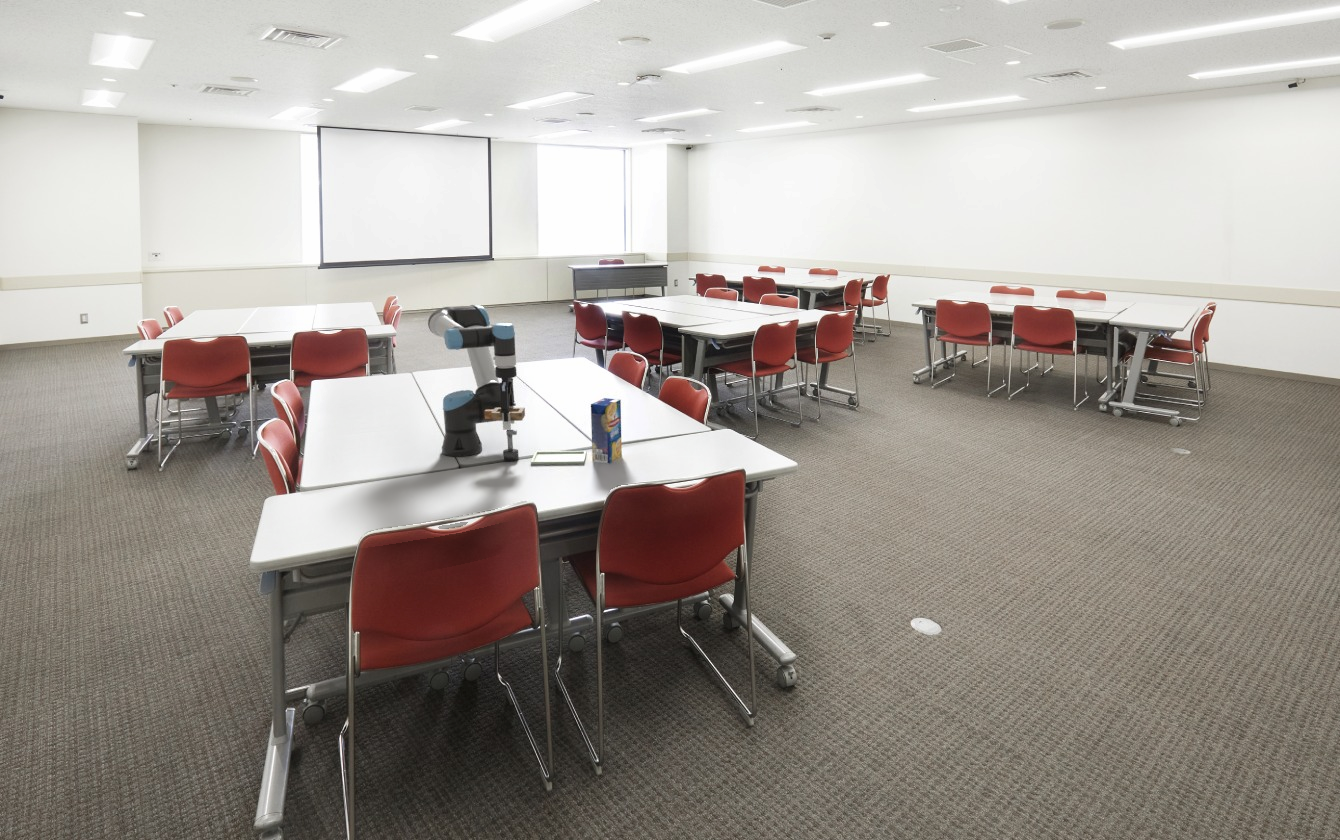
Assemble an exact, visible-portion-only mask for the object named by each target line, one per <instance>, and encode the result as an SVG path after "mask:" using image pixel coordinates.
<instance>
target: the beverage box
mask: <svg viewBox="0 0 1340 840" xmlns="http://www.w3.org/2000/svg"><path fill="white" fill-rule="evenodd" d="M621 403H622V401H621V399H619V398H617V399H616V398H608V397H607V398H606V397H603V398H602V399H599V400H597V401H595V402H593V403H591V404H590V418H591V419H590V420H591V456H592V462H595V463H603V464H610V463H612V462H614V461H615V460H617V459H618V458H620V457H621V456H623V455H622V409H621V408H622V406H621Z"/></svg>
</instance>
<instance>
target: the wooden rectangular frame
mask: <svg viewBox="0 0 1340 840" xmlns="http://www.w3.org/2000/svg"><path fill="white" fill-rule="evenodd" d="M525 409H526V408H525V406H524V407H514V408H509V412H510V421H514V422H516V421H521V422H522V421H523V420H524V417H525V416H526V411H525ZM500 411H501V408H495V409H488V410H485V411H484V412H485V419H492V422H501V421H502V422H503V418H502V413H500Z"/></svg>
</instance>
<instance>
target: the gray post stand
mask: <svg viewBox="0 0 1340 840" xmlns="http://www.w3.org/2000/svg"><path fill="white" fill-rule="evenodd" d="M505 431H506V437H507V438H506V439H507V448H506V449H503V451H502V455H503V456H502V457H503V461H504V462H506V463H515V462H517V461H519V459H520V456H519V449H517V448H514V446H513V443H514V442H513V436H516V435H517V434H518V430H517V429H511V430H505Z"/></svg>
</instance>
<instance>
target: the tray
mask: <svg viewBox="0 0 1340 840" xmlns="http://www.w3.org/2000/svg"><path fill="white" fill-rule="evenodd" d="M586 457H587V450H551V451H550V450H547V451H546V450H544V451H543V450H542V451H541V450H539V451H538V450H537V451H535V452H534V454H533V456H532V458H531V460H530V466H555V465H559V466H561V465H562V466H563V465H565V466H566V465H568V466H569V465H573V466H574V465H585V463H586Z"/></svg>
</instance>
